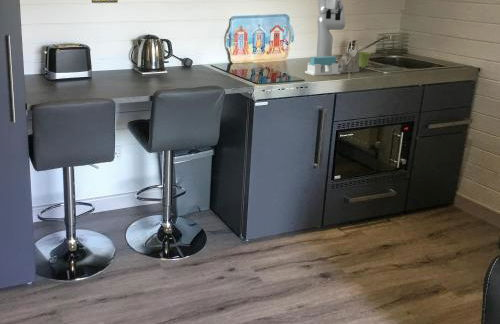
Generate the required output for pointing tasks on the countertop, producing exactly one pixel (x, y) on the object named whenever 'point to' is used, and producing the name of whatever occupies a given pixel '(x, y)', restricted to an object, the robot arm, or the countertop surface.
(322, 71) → the display cradle
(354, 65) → the grey irregular blocky piece
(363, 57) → the plant pot
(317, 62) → the teal rectangular stick
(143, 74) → the countertop surface
